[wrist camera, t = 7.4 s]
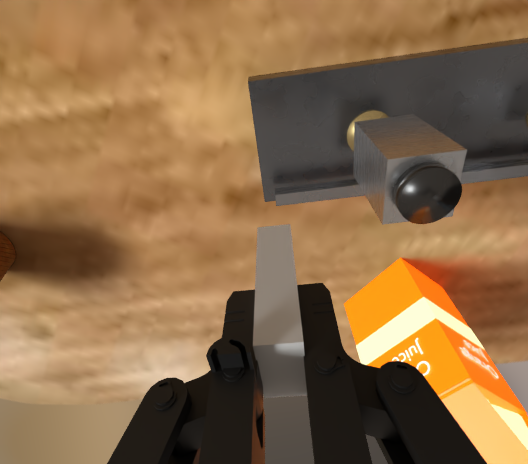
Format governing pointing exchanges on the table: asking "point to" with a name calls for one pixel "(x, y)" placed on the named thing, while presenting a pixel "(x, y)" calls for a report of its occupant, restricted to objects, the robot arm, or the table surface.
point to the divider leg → (407, 169)
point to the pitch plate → (390, 115)
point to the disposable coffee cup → (6, 255)
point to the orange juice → (439, 357)
